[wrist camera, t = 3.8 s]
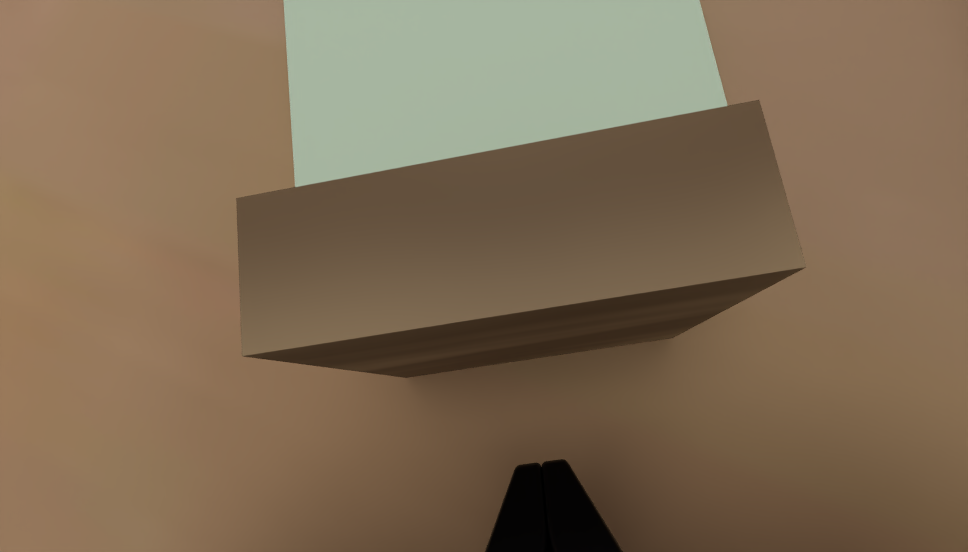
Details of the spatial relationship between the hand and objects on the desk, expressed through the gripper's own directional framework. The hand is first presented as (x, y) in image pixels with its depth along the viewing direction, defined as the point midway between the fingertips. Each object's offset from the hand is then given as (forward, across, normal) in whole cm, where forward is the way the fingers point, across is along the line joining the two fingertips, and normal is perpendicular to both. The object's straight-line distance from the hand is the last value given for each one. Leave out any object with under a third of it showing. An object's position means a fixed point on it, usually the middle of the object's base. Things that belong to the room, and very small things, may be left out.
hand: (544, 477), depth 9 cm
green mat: (+14, 0, -4) cm, 15 cm away
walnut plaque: (+8, 0, +2) cm, 8 cm away
